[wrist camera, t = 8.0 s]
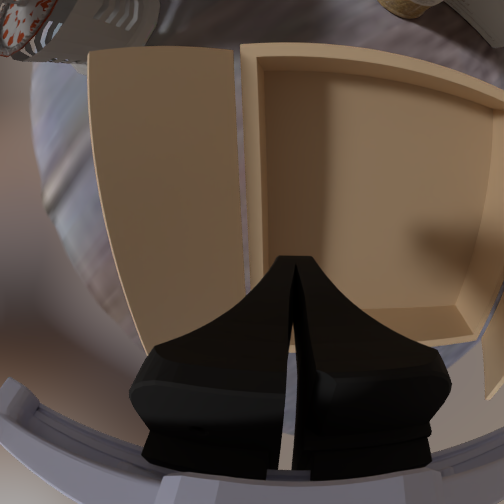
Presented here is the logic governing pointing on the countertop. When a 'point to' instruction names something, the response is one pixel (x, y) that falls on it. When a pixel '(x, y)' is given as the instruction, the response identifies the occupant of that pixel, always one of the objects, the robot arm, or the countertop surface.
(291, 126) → the carton
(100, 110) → the flap
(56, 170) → the countertop surface
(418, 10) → the sprinkles bottle
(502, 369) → the flap
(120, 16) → the french press
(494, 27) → the supplement box
